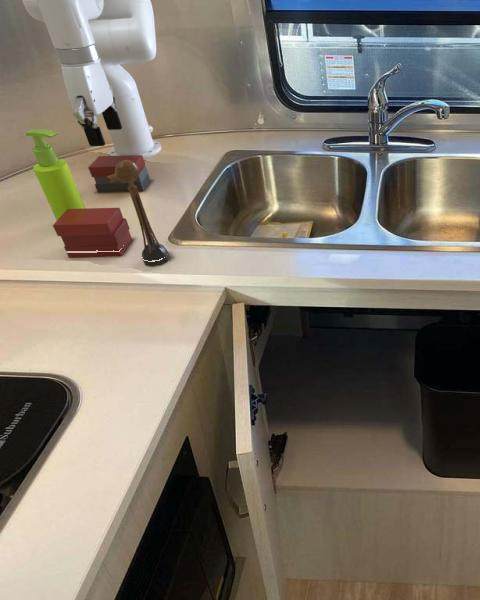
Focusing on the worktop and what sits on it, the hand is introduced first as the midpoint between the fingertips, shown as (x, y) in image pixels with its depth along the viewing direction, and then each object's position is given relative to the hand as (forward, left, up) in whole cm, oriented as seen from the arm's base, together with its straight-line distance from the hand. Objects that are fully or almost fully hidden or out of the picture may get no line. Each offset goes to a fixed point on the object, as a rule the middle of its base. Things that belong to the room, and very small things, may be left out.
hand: (106, 137), depth 122 cm
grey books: (0, 0, -12) cm, 12 cm away
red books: (+27, +5, -12) cm, 30 cm away
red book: (0, 0, -8) cm, 8 cm away
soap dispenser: (+16, -4, -12) cm, 21 cm away
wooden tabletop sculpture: (+32, +17, -12) cm, 38 cm away
